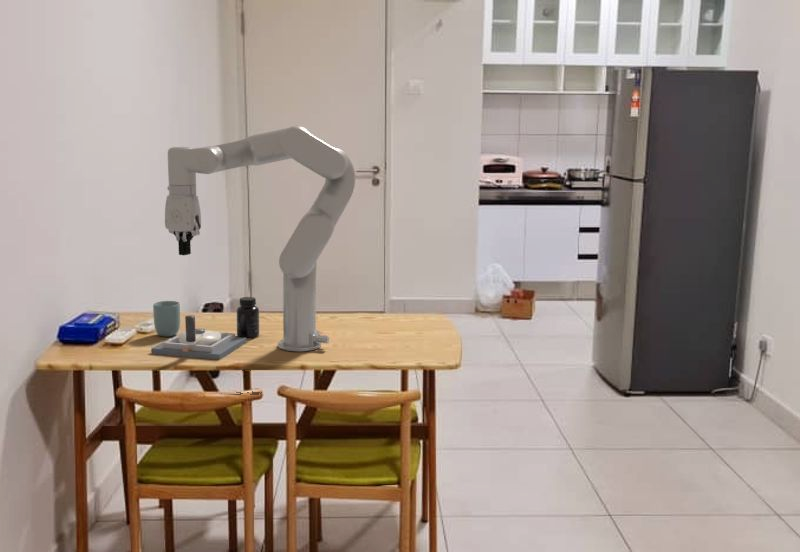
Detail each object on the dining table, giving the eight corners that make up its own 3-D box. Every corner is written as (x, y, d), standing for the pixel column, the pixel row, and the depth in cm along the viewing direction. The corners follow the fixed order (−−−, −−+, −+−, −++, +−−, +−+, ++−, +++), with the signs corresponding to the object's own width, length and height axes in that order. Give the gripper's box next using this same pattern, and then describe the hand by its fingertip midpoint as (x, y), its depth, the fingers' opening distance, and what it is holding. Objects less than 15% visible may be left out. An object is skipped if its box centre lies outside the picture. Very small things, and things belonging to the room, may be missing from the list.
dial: (185, 336, 233) (184, 303, 231) (225, 337, 233) (224, 304, 231) (168, 351, 217) (167, 317, 215) (211, 352, 217) (210, 318, 215)
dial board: (246, 342, 234) (246, 333, 233) (219, 359, 217) (219, 349, 216) (182, 337, 238) (182, 327, 238) (151, 353, 221) (151, 343, 220)
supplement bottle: (232, 337, 240) (231, 299, 237) (246, 332, 246) (245, 295, 243) (250, 340, 237) (249, 301, 234) (263, 335, 242) (263, 297, 240)
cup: (184, 332, 244) (183, 301, 242) (175, 339, 236) (173, 307, 234) (160, 331, 245) (159, 300, 243) (150, 337, 237) (149, 305, 235)
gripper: (153, 190, 222) (156, 253, 225) (193, 193, 215) (195, 258, 219) (172, 188, 228) (174, 250, 232) (211, 191, 222) (213, 255, 225)
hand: (184, 254), depth 225 cm, fingers closed
